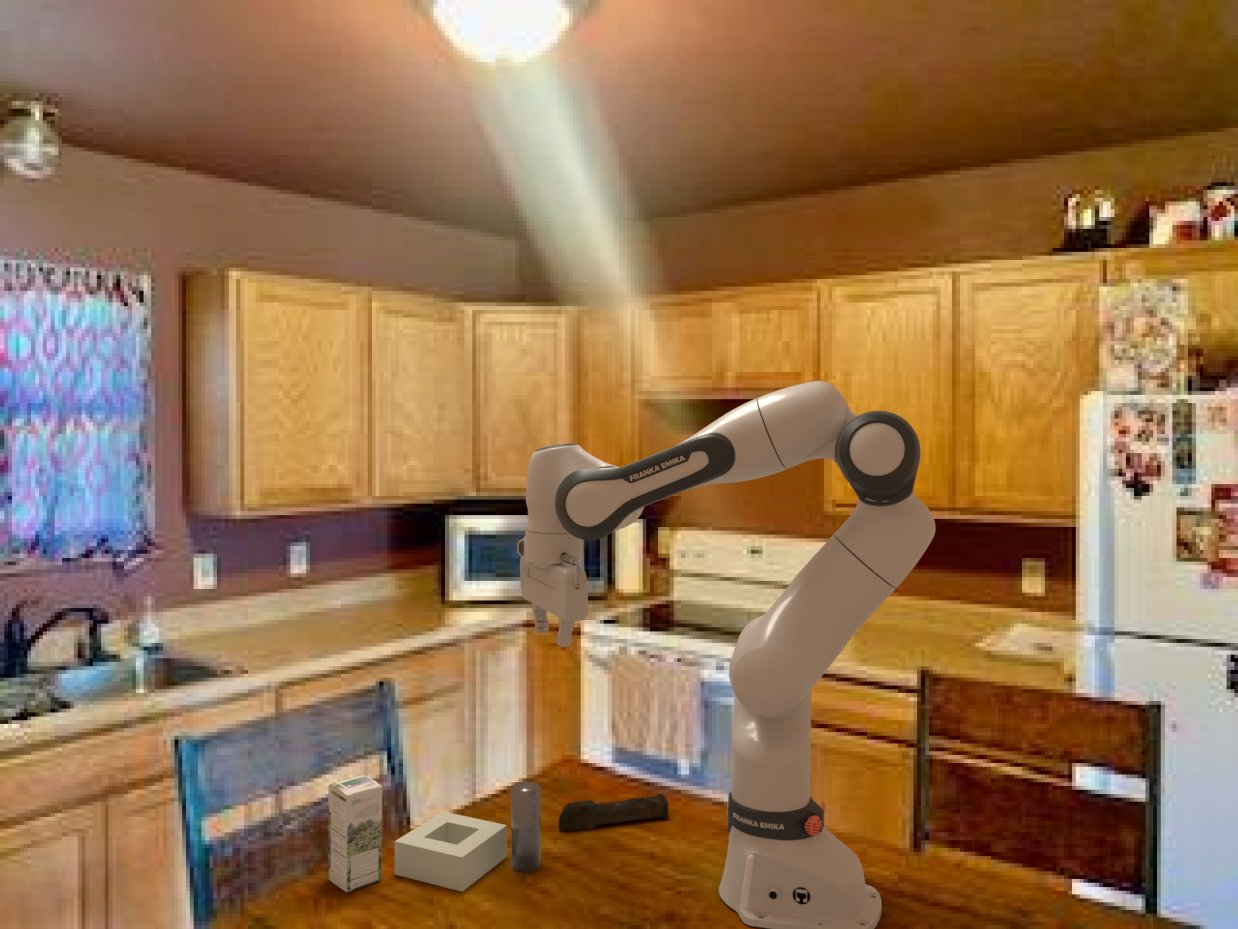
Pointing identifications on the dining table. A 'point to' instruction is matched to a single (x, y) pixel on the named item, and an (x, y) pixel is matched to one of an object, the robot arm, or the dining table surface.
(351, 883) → the syrup box
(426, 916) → the dining table surface
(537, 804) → the pin
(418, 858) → the frame
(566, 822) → the hand tool
